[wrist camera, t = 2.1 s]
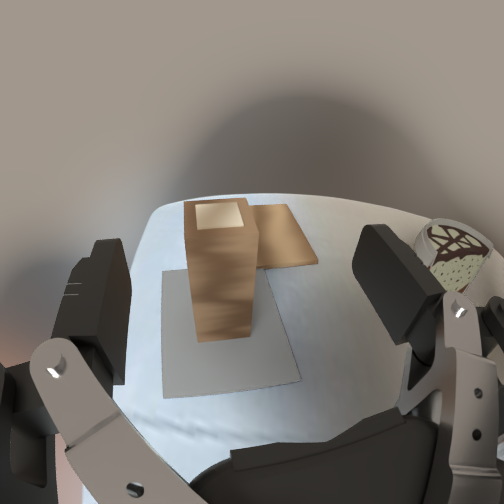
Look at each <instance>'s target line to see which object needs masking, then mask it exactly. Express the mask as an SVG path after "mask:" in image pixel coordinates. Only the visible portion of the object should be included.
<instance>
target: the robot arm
mask: <svg viewBox="0 0 504 504" xmlns="http://www.w3.org/2000/svg"><path fill="white" fill-rule="evenodd" d="M352 270H353V274H354V276H355V278H356V279H357V281H358V282H359V284H360V286H361V287H362V289H363V291H364V292H365V294H366V295H367V297H368V299H369V300H370V302H371V304H372V305H373V307H374V309H375V310H376V312H377V314H378V315H379V317H380V319H381V320H382V322H383V324H384V326H385V327H386V329H387V331H388V333H389V334H390V336H391V338H392V340H393V341H394V343H395V345H399V344H403V343H406V342H409V343H410V347H409V348H408V350H407V353H406V360H405V367H404V374H403V380H402V386H401V392H400V396H399V399H398V401H397V403H396V404H395V406H394V408H392V409H389V410H387V411H384V412H382V413H379V414H376V415H373V416H371V417H368V418H365V419H363V420H362V421H360V422H359V423H357V424H356V425H354V426H353V427H351V428H349V429H348V430H346V431H345V432H343V433H341V434H340V435H338V436H337V437H335V438H333V439H332V440H330V441H327V442H318V443H280V442H277V443H272V444H267V445H261V446H255V447H249V448H243V449H235V450H230V458H228V459H226V460H223V461H221V462H219V463H217V464H215V465H213V466H211V467H209V468H208V469H206V470H205V471H203V472H201V473H200V474H199V475H198V476H197V477H195V478H194V479H193V480H192V481H191V482H190V483H188V482H187V481H186V480H185V479H184V478H182V477H181V476H180V475H179V474H178V473H177V472H176V471H175V470H174V469H173V468H172V467H171V466H170V465H169V464H168V463H167V462H166V461H165V460H164V459H163V458H162V457H161V456H160V455H159V454H158V453H157V451H156V450H155V449H154V448H153V447H152V446H151V445H150V444H149V443H148V442H147V441H146V439H145V438H144V437H143V436H142V435H141V434H140V433H139V431H138V430H137V429H136V428H135V427H134V425H133V424H132V423H131V422H130V421H129V419H128V418H127V417H126V416H125V414H124V413H123V412H122V411H121V409H120V408H119V407H118V405H117V404H116V403H115V401H114V400H113V399H112V396H113V385H125V363H126V348H127V335H128V324H129V314H130V305H131V296H132V286H131V278H130V274H129V270H128V266H127V262H126V258H125V254H124V249H123V245H122V242H121V240H120V239H119V238H117V239H105V240H97V241H96V242H95V244H94V247H93V250H92V253H91V256H90V257H88V258H82V259H81V260H80V261H79V262H78V264H77V265H76V266H75V267H74V268H73V269H72V272H71V275H70V278H69V280H68V285H67V286H66V289H65V292H64V296H63V298H62V301H61V304H60V308H59V311H58V314H57V318H56V321H55V325H54V328H53V332H52V336H51V339H50V340H47V341H45V342H43V343H42V344H41V345H40V346H39V347H38V348H37V349H36V350H35V351H34V353H33V355H32V357H31V360H30V361H29V362H25V363H22V364H19V365H16V366H12V367H8V368H5V367H4V366H3V365H2V364H1V363H0V504H58V494H57V484H56V467H55V434H58V433H60V434H61V436H62V438H63V439H64V441H65V443H66V446H67V448H66V449H65V455H66V457H67V460H68V461H69V463H70V465H71V467H72V468H73V470H74V471H75V473H76V474H77V475H78V477H79V478H80V480H81V481H82V483H83V484H84V485H85V487H86V488H87V489H88V491H89V492H90V493H91V495H92V496H93V497H94V499H95V500H96V501H97V502H98V504H504V299H502V298H500V297H497V296H493V297H492V298H491V299H490V300H489V302H488V303H487V304H486V306H485V307H475V306H474V304H473V303H472V302H471V300H470V299H469V298H467V297H466V296H465V295H463V294H461V293H459V292H456V291H448V292H447V291H446V290H445V289H444V288H443V286H442V285H441V284H440V282H439V281H438V280H437V279H436V277H435V276H434V275H433V274H432V272H431V271H430V270H429V269H428V268H427V266H426V265H423V262H422V260H421V259H420V258H419V257H417V255H416V253H415V252H414V251H413V250H412V249H411V248H410V246H409V245H407V244H406V243H404V242H403V241H402V240H400V239H399V238H398V237H397V236H396V234H395V233H394V232H393V231H392V230H391V229H390V228H389V227H388V226H387V225H385V224H374V225H366V226H364V228H363V229H362V232H361V235H360V238H359V242H358V245H357V248H356V251H355V254H354V257H353V260H352ZM10 440H11V444H10Z"/></svg>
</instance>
